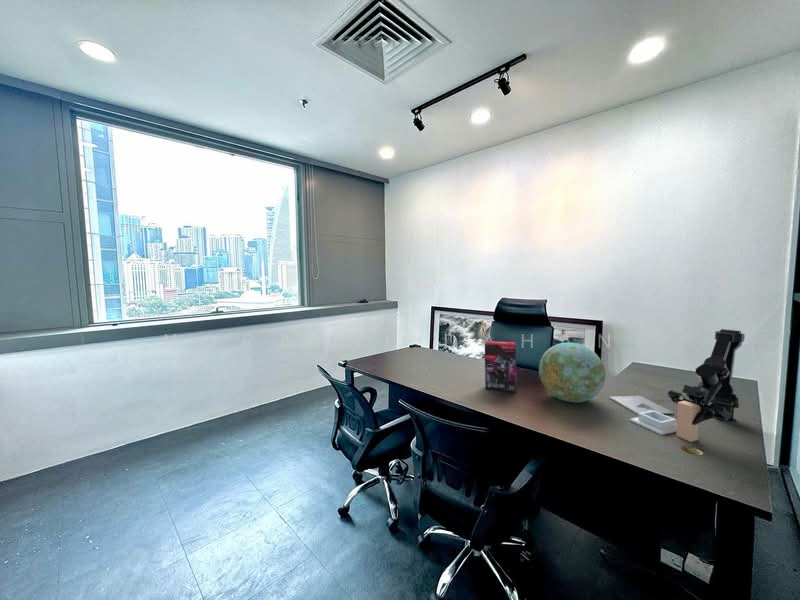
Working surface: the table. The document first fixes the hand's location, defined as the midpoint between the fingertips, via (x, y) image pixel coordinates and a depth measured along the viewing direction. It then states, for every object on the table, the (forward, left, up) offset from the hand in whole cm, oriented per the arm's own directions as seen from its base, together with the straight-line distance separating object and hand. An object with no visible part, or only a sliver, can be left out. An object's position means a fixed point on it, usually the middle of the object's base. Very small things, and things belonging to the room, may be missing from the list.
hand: (685, 421), depth 126 cm
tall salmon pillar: (-1, -1, -7) cm, 7 cm away
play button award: (0, -31, -8) cm, 32 cm away
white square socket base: (+4, -11, -7) cm, 13 cm away
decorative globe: (+30, -36, -7) cm, 47 cm away
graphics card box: (+63, -49, -7) cm, 80 cm away
